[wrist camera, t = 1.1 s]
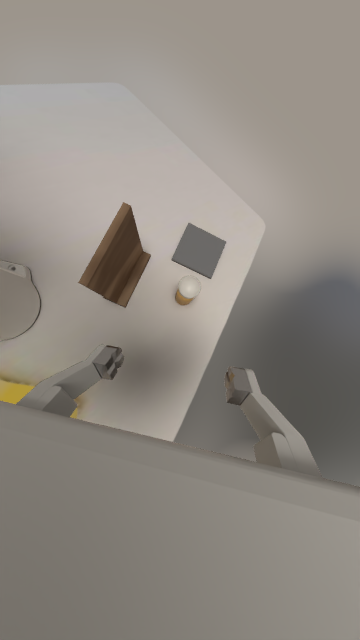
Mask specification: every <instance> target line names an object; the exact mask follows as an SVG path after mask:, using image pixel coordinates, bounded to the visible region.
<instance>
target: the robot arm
mask: <svg viewBox="0 0 360 640" xmlns="http://www.w3.org/2000/svg"><path fill="white" fill-rule="evenodd" d="M15 269H16V270H15ZM39 309H40V298H39V295H38V292H37V290H36V288H35V287H34V285H33V283H32V281H31V274H30V270H29V269H28V268H27V267H25V266H22V265H19V264H15V263H11V262H6V261H2V260H0V341H3V340H8V339H11V338H14V337H16V336H18V335H20V334H22V333H23V332H25V331H26V330H27V329H28V328H29V327H30V326H31V325H32V324H33V323H34V321H35V320H36V318H37V316H38V313H39ZM121 352H122V349H121V348H119V347H113V346H108V345H103V344H101V345H99V346H98V347H97V348H96V349H95V350H94V352H93V353H92V354H91V355H90V356H89V357H88V358H87V359H86V360H85V361H81V362H79V363H77V364H75V365H73V366H71V367H69V368H67V369H65V370H63V371H61V372H59V373H57V374H55V375H53V376H51V377H49V378H47V379H45V380H43V381H41V382H40V383H39V384H38V385H37V386H35V387H34V388H33V389H32V390H31V391H30V392H29V393H28V394H27V395H26V396H25V397H23V398H22V399H21V400H20V401H19V402H18V403H17V404H12V403H8V402H3V401H0V640H360V487H358V486H354V485H350V484H346V483H342V482H337V481H333V480H329V479H325V478H322V475H321V473H320V471H319V469H318V467H317V465H316V463H315V461H314V459H313V457H312V455H311V452H310V450H309V448H308V446H307V444H306V442H305V440H304V438H303V437H302V436H301V435H300V434H299V433H298V431H297V430H296V429H295V428H294V427H293V426H292V425H291V424H290V423H289V422H288V421H287V420H286V418H285V417H284V416H283V415H282V414H281V413H280V412H279V411H278V410H277V409H276V407H275V406H274V405H273V404H272V403H271V402H270V401H269V400H268V399H267V398H266V397H265V395H262V394H261V391H260V388H259V385H258V383H257V380H256V377H255V374H254V372H253V370H250V369H244V368H238V367H232V366H229V367H228V372H227V373H226V374H225V378H224V382H225V383H224V384H225V387H226V388H227V391H226V399H227V403H230V404H235V405H239V406H240V408H241V409H242V411H243V412H244V414H245V416H246V417H247V419H248V420H249V422H250V424H251V425H252V427H253V428H254V430H255V432H256V433H257V435H258V437H259V438H260V440H261V441H259V442H258V443H256V444H255V445H254V446H253V448H254V452H255V457H256V462H254V461H250V460H246V459H241V458H237V457H233V456H229V455H225V454H221V453H216V452H212V451H207V450H204V449H199V448H195V447H191V446H187V445H183V444H179V443H175V442H170V441H166V440H162V439H158V438H154V437H150V436H145V435H141V434H137V433H133V432H129V431H124V430H120V429H116V428H112V427H108V426H104V425H99V424H95V423H91V422H87V421H83V420H79V419H74V418H70V416H71V414H72V413H73V411H74V410H75V409H76V407H77V403H76V402H75V401H74V399H75V398H76V397H78V396H79V395H80V394H82V393H83V392H84V391H86V390H87V389H88V388H90V387H91V386H92V385H94V384H95V383H96V382H98V381H99V380H100V379H101V378H104V379H110V380H112V379H113V378H114V376H115V375H116V373H117V369H118V368H119V367H121V365H122V363H123V360H124V356H123V354H122V353H121Z"/></svg>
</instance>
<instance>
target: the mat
mask: <svg viewBox="0 0 360 640" xmlns="http://www.w3.org/2000/svg"><path fill="white" fill-rule="evenodd" d="M225 244H226V241H224V240H222V239H220V238H218V237H216V236H214V235H212V234H210V233H208V232H206V231H204V230H202V229H200V228H198V227H196V226H194V225H192V224H190V223H188V225H187V227H186V230H185V232H184V234H183V236H182V238H181V240H180V242H179V245H178V247H177V249H176V251H175V253H174V255H173V257H172V261H174V262H176V263H178V264H180V265H183V266H185V267H187V268H189V269H191V270H193V271H195V272H197V273H199V274H201V275H203V276H205V277H208V278H210V279H211V278H212V275H213V273H214V270H215V268H216V266H217V263H218V261H219V258H220V256H221V254H222V251H223V249H224V246H225Z"/></svg>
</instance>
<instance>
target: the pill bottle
mask: <svg viewBox="0 0 360 640" xmlns="http://www.w3.org/2000/svg"><path fill="white" fill-rule="evenodd" d="M200 290H201V284H200V282H199V280H198V279H197V278H196V277H194V276H185V277H183V278H182V279H181V280H180V282H179V286H178V290H177V293H176V301H177V303H178V304H180V305H187V304H189V303H190V302H191V301H192V300H193V298H194V297H196V296H197V295H198V294H199V292H200Z"/></svg>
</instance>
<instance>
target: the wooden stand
mask: <svg viewBox="0 0 360 640" xmlns="http://www.w3.org/2000/svg"><path fill="white" fill-rule="evenodd" d="M150 257H151V256H150V254H148V253H146V252H144V251H143V249H142V246H141V242H140V238H139V234H138V231H137V227H136V223H135V219H134V215H133V212H132V208H131V206H130V205H128V204H126V203H124V202H123V204H122V206H121V208H120V209H119V211H118V213H117V215H116V217H115V218H114V220H113V222H112V224H111V225H110V227H109V229H108V231H107V233H106V234H105V236H104V238H103V240H102V241H101V243H100V245H99V247H98V249H97V250H96V252H95V254H94V256H93V257H92V259H91V261H90V263H89V265H88V266H87V268H86V270H85V272H84V273H83V275H82V277H81V279H80V281H79V282H78V283H80V284H82V285H84V286H85V287H87V288H89V289H91V290H93V291H94V292H96V293H98V294H100V295H102V296H103V298H105V299H107V300H110V301H112V302H114V303H117V304H119V305H121V306H124V307H126V305H127V303H128V301H129V299H130V297H131V295H132V293H133V291H134V289H135V287H136V285H137V283H138V281H139V279H140V277H141V275H142V273H143V271H144V269H145V267H146V265H147V263H148V261H149V259H150Z"/></svg>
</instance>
